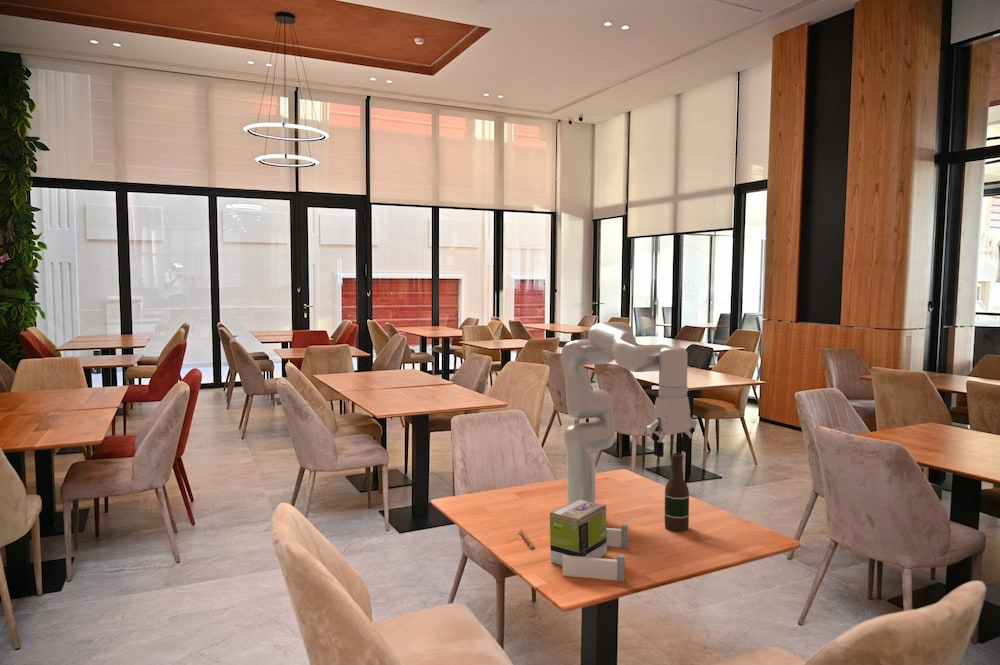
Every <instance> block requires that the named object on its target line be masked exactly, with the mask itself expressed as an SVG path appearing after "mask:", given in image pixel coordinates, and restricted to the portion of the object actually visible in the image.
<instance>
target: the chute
mask: <svg viewBox="0 0 1000 665" xmlns="http://www.w3.org/2000/svg"><path fill="white" fill-rule="evenodd" d="M620 525H621V526H620V527H621V528H614V527H613V528H612V527H606V534H607V541H606V542H607V547H613V548H614V547H615V548H616V547H617V548H625V549H627V548H628V535H629V534H628V533H629V532H628V526H629V525H628V524H626V523H624V524H620ZM616 558H617V559H616ZM616 558H615V559H614V558H603V557H600V558H591V557H579V556H567V555H563V566H562V576H563V577H571V578H572V577H575V578H585V579H586V578H587V579H596V580H607V581H617V582H625V554H617V556H616Z"/></svg>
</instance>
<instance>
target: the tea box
mask: <svg viewBox="0 0 1000 665" xmlns="http://www.w3.org/2000/svg"><path fill="white" fill-rule="evenodd" d="M606 528H607V505H606V504H602V503H596V502H595V503H592V502H588V501H583V500H579V499H578V500H575V501H573V502H571V503H569V504H567V503H566V504H565V505H563V506H561V507H559V508H556V509H554V510H553V511H550V512H549V534H550V535H549V536H550V537H549V538H550V540H549V543H550V544H549V545H550V552H549V553H550V563H553V564H556V565H559V566H562V567H563V555H567V556H579V557H591V558H603V557H604V556H605V555H606V554H608V551H607V550H608V546H607V542H606V541H607V534H606Z"/></svg>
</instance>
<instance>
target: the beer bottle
mask: <svg viewBox="0 0 1000 665" xmlns="http://www.w3.org/2000/svg"><path fill="white" fill-rule="evenodd" d="M683 459H684V456H683V454H682V453H672V454H671V470H670V477H669V479H668V481H667V482H666V485H665V486H664V527H665V530H668V531H671V532H675V533H676V532H678V533H684V532H686V531H688V530H689V526H690V525H689V523H690V522H689V517H690V512H689V511H690V510H689V509H690V493H689V492H690V491H689V488H688V485H687V483H686V481H685V479H684V470H683V468H684V467H683Z"/></svg>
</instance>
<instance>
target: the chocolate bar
mask: <svg viewBox="0 0 1000 665" xmlns="http://www.w3.org/2000/svg"><path fill="white" fill-rule="evenodd" d="M518 534H519V535H520V536H521V537H522V539H523V540H524V542H525V543H526V544H527V546H528V547H529V548H531V549H536V546H535V545H534V543H533V541H532V540H531V539H530V537H528V535H527V534H526V532H524V531H523V529H522V528H520V530H519V531H518V532H517V535H518ZM522 539H521V540H522ZM524 542H523V543H524ZM525 543H524V544H525ZM526 544H525V545H526ZM527 546H526V547H527ZM528 547H527V548H528ZM529 548H528V549H529Z"/></svg>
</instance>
